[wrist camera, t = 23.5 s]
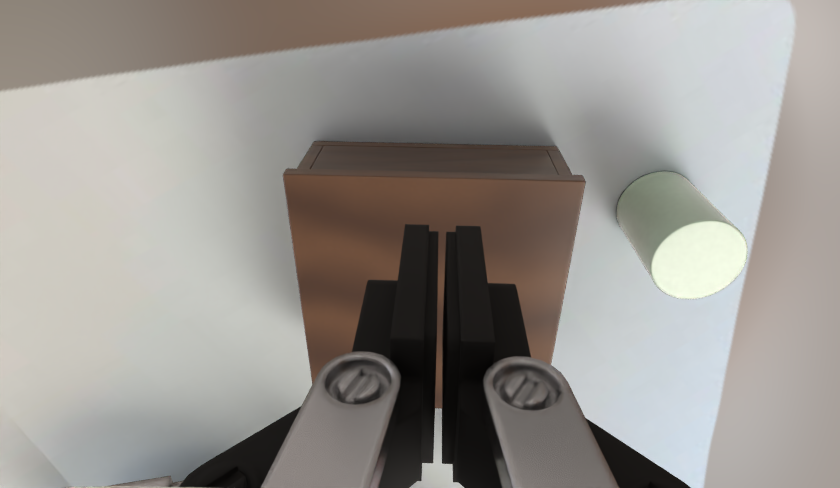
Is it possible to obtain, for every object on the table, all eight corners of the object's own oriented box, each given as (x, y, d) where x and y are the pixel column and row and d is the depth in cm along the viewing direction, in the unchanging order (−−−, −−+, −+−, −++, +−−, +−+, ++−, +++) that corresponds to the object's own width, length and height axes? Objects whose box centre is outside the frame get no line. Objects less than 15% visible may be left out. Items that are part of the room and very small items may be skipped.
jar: (604, 193, 36) (637, 246, 30) (682, 156, 34) (734, 204, 28) (631, 252, 38) (667, 312, 32) (706, 220, 37) (758, 276, 31)
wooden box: (313, 140, 35) (291, 175, 30) (557, 145, 34) (576, 181, 29) (332, 341, 43) (317, 395, 38) (528, 347, 43) (540, 402, 38)
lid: (286, 167, 29) (282, 174, 28) (582, 174, 28) (586, 181, 28) (317, 395, 38) (314, 404, 37) (540, 403, 38) (542, 412, 37)
